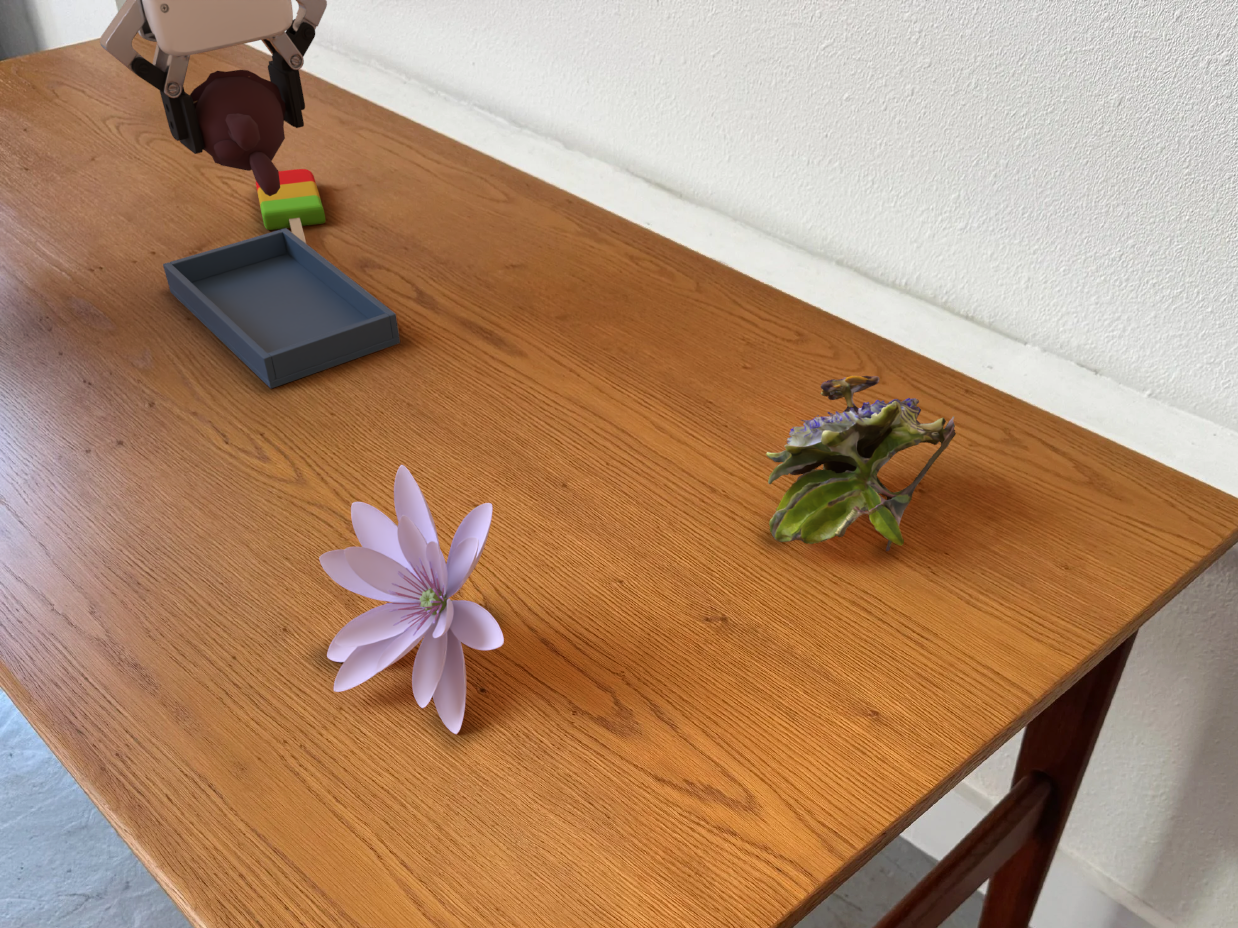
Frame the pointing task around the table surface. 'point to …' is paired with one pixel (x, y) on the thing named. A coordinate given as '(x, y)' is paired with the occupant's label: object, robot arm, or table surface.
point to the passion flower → (850, 465)
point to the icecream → (242, 123)
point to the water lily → (412, 599)
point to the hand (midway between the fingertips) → (242, 132)
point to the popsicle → (292, 203)
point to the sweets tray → (281, 306)
